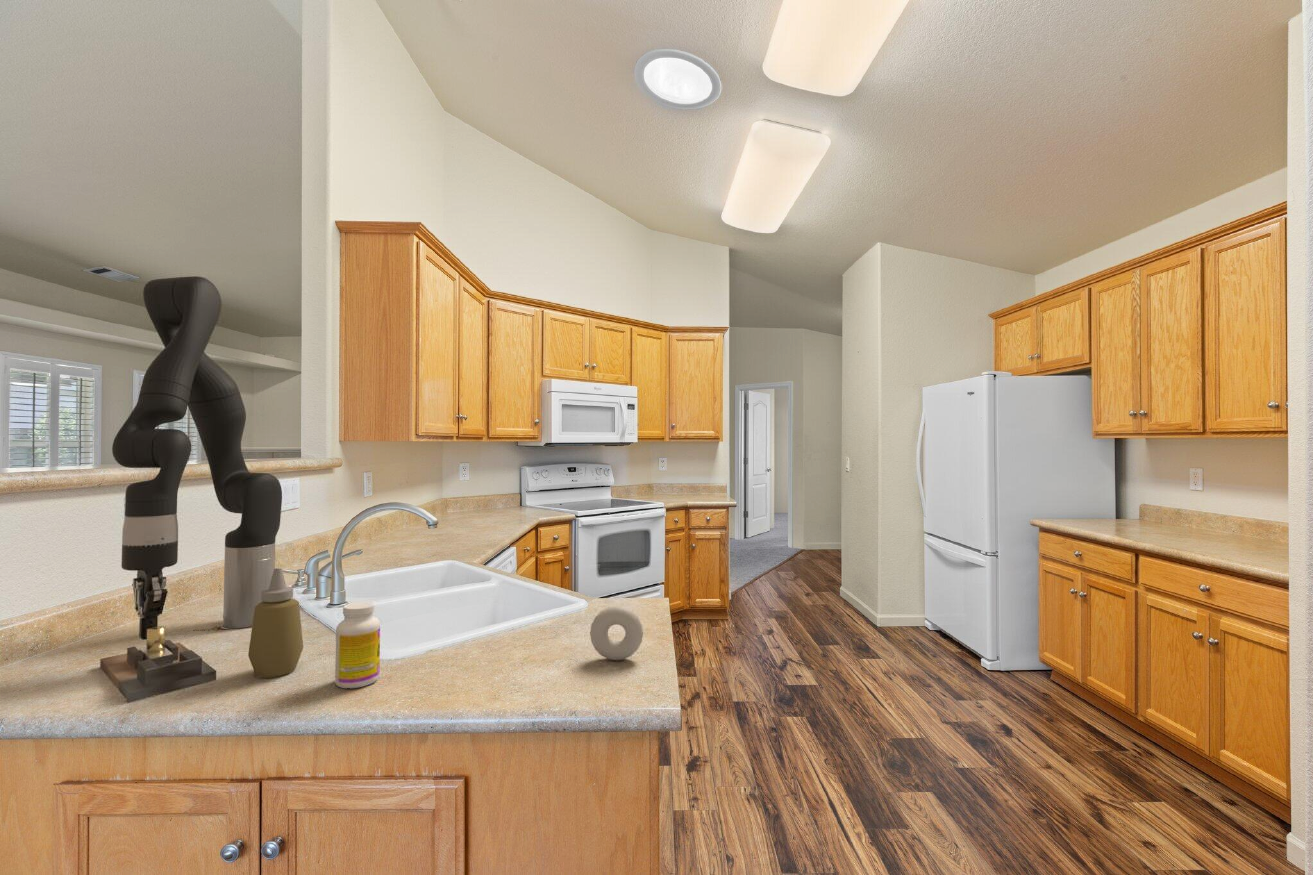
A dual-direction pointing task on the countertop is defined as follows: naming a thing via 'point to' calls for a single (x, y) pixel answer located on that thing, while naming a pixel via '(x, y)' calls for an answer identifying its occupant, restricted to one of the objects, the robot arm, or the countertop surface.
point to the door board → (156, 672)
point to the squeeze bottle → (276, 630)
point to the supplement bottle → (357, 646)
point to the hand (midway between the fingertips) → (148, 637)
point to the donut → (618, 648)
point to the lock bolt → (157, 647)
